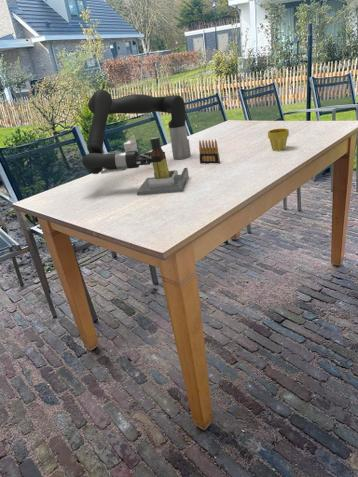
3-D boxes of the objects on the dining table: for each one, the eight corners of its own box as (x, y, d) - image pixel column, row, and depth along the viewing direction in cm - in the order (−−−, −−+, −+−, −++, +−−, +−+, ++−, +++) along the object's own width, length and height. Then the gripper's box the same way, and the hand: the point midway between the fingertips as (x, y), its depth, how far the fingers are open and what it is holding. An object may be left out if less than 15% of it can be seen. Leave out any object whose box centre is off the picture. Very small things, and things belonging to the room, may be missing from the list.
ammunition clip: (220, 162, 187) (217, 138, 182) (218, 163, 185) (216, 139, 180) (201, 162, 192) (198, 139, 187) (200, 163, 191) (197, 140, 186)
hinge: (100, 174, 201) (96, 155, 197) (102, 171, 206) (98, 153, 202) (125, 170, 201) (121, 151, 196) (126, 167, 206) (122, 149, 201)
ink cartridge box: (131, 160, 220) (126, 135, 214) (139, 159, 219) (134, 134, 213) (127, 164, 213) (122, 138, 207) (135, 163, 212) (130, 137, 205)
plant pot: (281, 152, 187) (280, 133, 183) (264, 151, 195) (263, 132, 191) (292, 147, 193) (292, 128, 189) (276, 146, 201) (275, 128, 196)
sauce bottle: (172, 179, 166) (165, 135, 157) (167, 184, 161) (160, 138, 152) (159, 180, 168) (151, 136, 159) (153, 184, 163) (145, 139, 154)
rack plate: (188, 176, 172) (187, 166, 170) (182, 191, 154) (181, 179, 152) (147, 180, 176) (145, 170, 173) (137, 195, 158) (135, 184, 156)
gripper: (121, 155, 154) (158, 151, 151) (130, 147, 167) (164, 144, 163) (124, 173, 157) (161, 169, 154) (133, 164, 170) (167, 160, 167)
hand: (163, 156), depth 159 cm, fingers open, 8 cm apart
